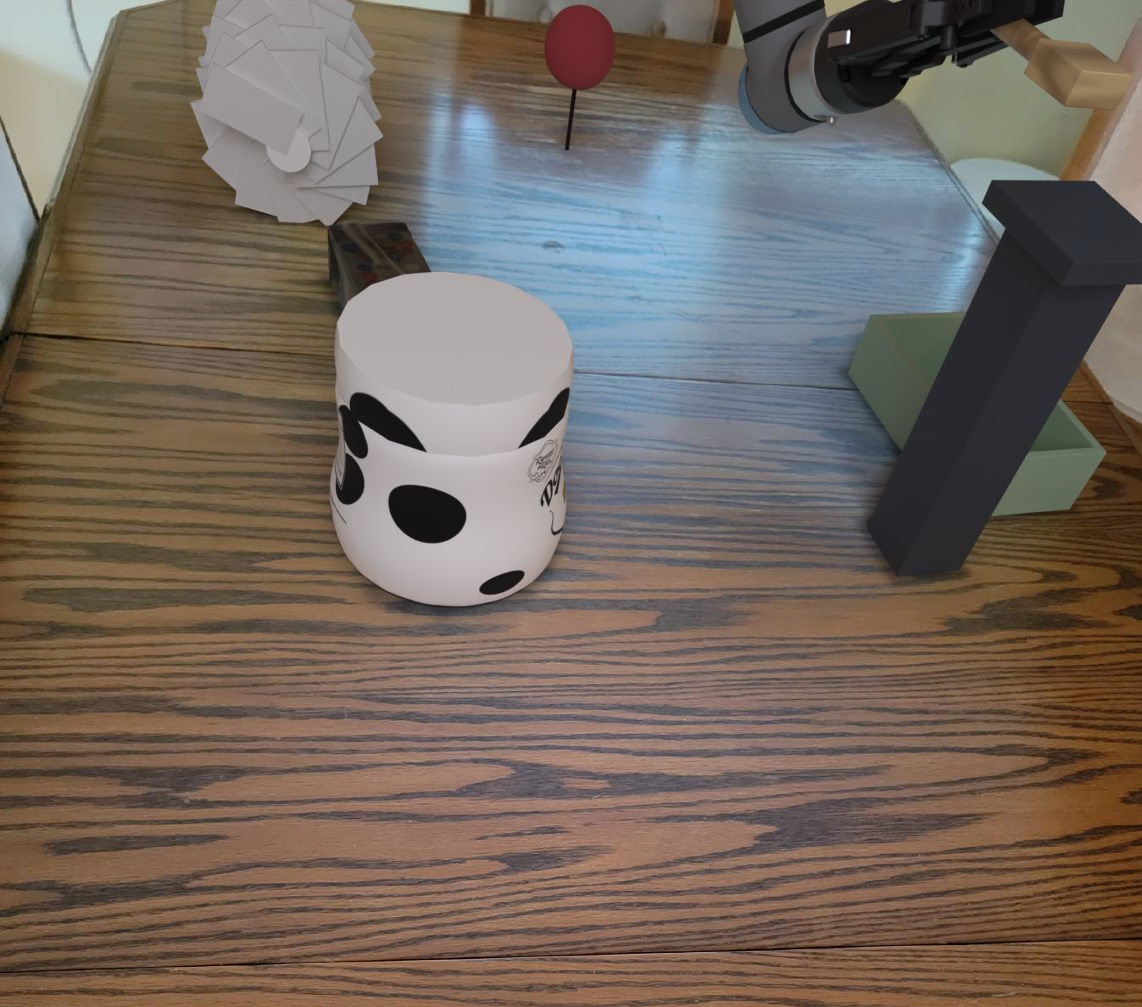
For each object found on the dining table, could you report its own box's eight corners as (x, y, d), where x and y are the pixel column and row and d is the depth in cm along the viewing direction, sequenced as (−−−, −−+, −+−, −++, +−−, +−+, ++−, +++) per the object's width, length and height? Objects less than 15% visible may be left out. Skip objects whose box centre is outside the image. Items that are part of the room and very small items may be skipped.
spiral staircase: (335, 174, 120) (344, 278, 105) (181, 91, 111) (166, 192, 96) (401, 12, 109) (422, 102, 94) (236, -94, 100) (229, -13, 85)
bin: (845, 378, 101) (870, 314, 96) (955, 373, 104) (985, 310, 99) (945, 525, 89) (980, 461, 84) (1066, 514, 93) (1107, 452, 87)
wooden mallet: (1115, 111, 65) (1134, 75, 63) (1064, 106, 64) (1081, 70, 62) (983, 8, 74) (997, -25, 73) (936, 3, 73) (949, -31, 71)
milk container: (603, 562, 81) (645, 356, 67) (435, 665, 72) (443, 454, 58) (457, 449, 87) (467, 237, 73) (286, 532, 78) (259, 311, 64)
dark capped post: (978, 592, 85) (1183, 260, 62) (893, 601, 83) (1073, 262, 60) (924, 511, 90) (1094, 180, 68) (843, 518, 88) (991, 179, 66)
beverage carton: (408, 278, 102) (408, 211, 96) (464, 394, 92) (468, 326, 86) (327, 284, 99) (323, 215, 94) (377, 403, 89) (375, 334, 84)
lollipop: (576, 177, 119) (595, 27, 107) (522, 153, 121) (535, 3, 109) (610, 157, 123) (632, 10, 111) (558, 134, 125) (574, -12, 113)
